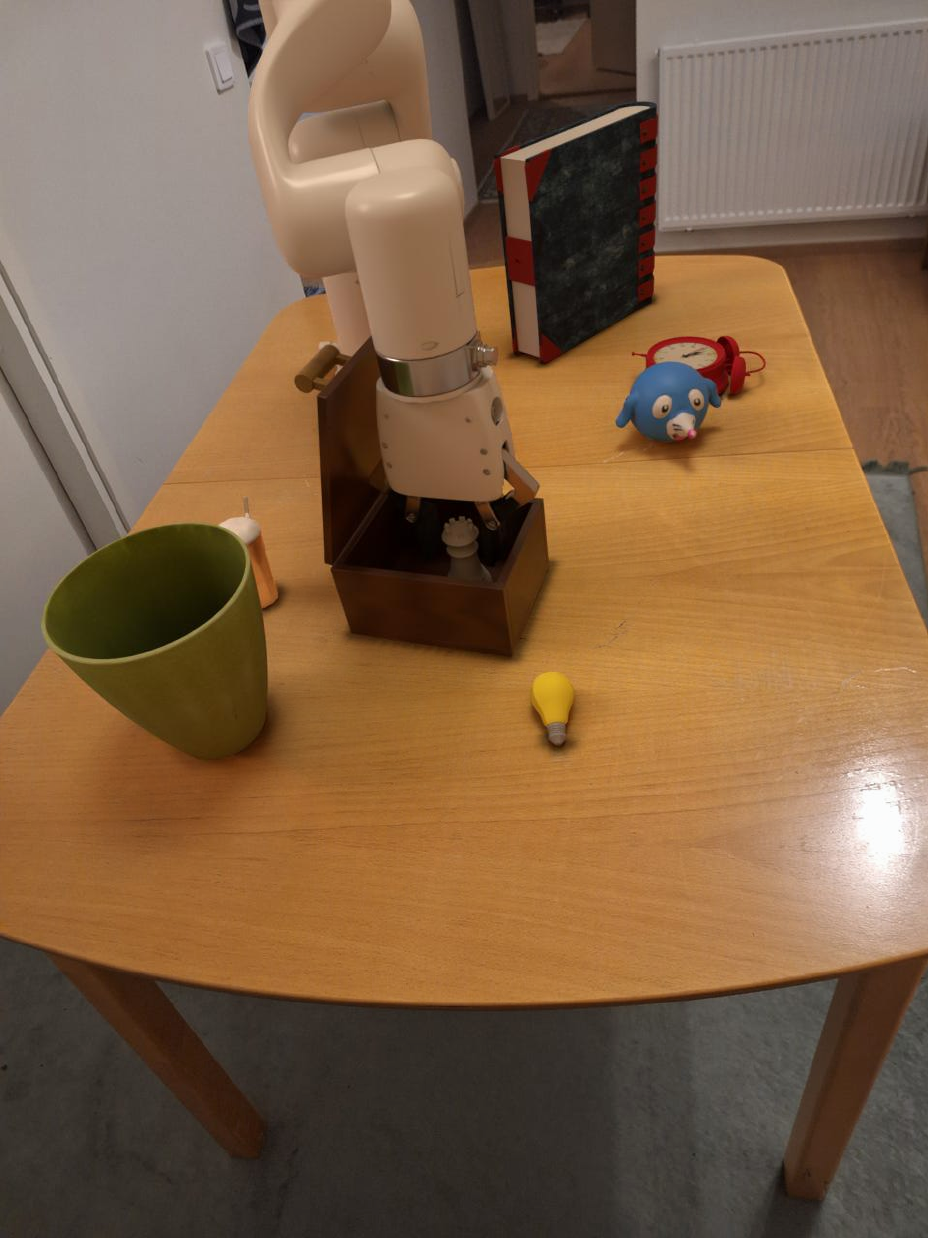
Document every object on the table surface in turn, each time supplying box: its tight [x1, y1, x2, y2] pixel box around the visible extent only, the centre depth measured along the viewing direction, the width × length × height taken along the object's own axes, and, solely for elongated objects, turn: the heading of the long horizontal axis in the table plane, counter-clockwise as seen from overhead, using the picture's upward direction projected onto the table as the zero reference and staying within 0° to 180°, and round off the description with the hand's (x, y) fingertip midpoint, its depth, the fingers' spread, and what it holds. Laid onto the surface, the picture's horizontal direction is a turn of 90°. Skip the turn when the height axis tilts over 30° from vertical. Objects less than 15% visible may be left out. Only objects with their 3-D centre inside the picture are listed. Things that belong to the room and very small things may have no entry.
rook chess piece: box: [442, 516, 492, 582], centre depth 72 cm, size 4×4×8 cm
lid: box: [293, 335, 382, 567], centre depth 67 cm, size 16×13×5 cm
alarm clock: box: [631, 335, 767, 395], centre depth 97 cm, size 10×6×15 cm
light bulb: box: [529, 670, 576, 746], centre depth 63 cm, size 3×6×4 cm, turn 1°
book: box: [493, 100, 659, 365], centre depth 107 cm, size 25×7×25 cm, turn 132°
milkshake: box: [218, 496, 279, 609], centre depth 77 cm, size 5×5×10 cm
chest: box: [329, 493, 550, 658], centre depth 73 cm, size 16×13×8 cm
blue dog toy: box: [614, 361, 722, 443], centre depth 87 cm, size 12×12×8 cm
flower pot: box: [40, 521, 269, 761], centre depth 63 cm, size 15×15×16 cm
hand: (463, 551), depth 71 cm, fingers open, 5 cm apart
